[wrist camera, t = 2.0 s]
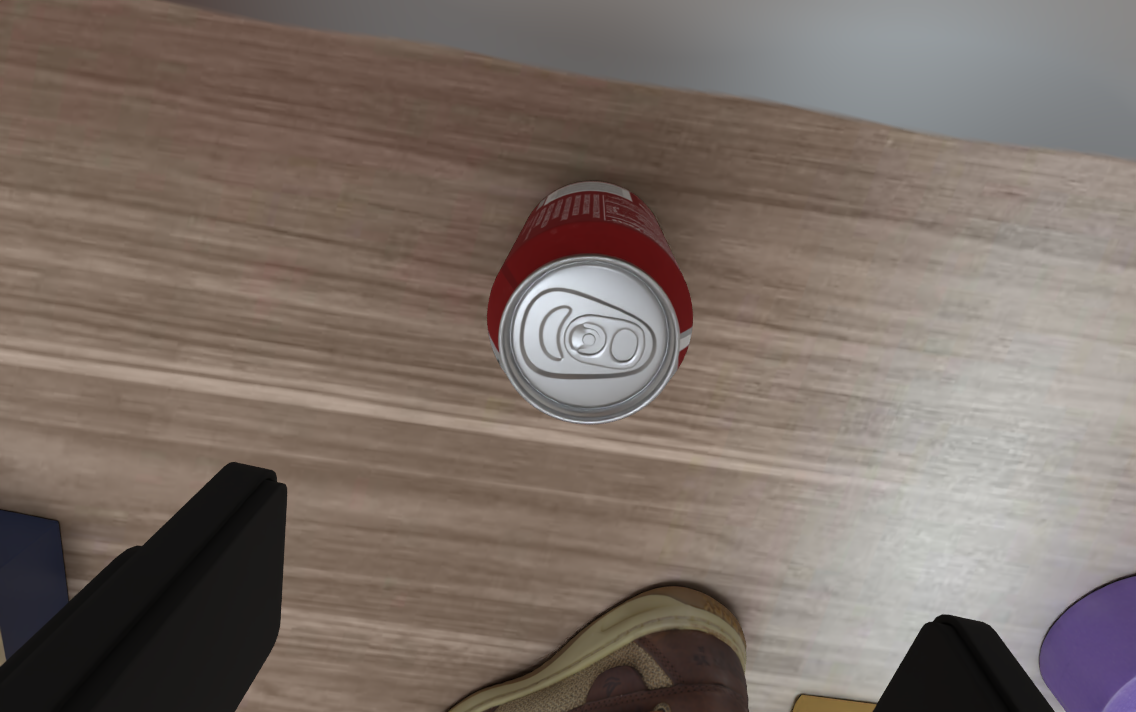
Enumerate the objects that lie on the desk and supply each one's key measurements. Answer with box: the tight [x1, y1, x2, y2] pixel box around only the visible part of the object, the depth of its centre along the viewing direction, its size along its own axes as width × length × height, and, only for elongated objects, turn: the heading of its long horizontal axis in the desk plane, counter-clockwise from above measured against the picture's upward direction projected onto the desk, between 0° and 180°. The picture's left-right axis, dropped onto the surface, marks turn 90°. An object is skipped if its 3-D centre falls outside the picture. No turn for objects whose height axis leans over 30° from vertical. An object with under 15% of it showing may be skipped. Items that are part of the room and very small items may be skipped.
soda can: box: [487, 181, 693, 424], centre depth 24 cm, size 7×7×12 cm
